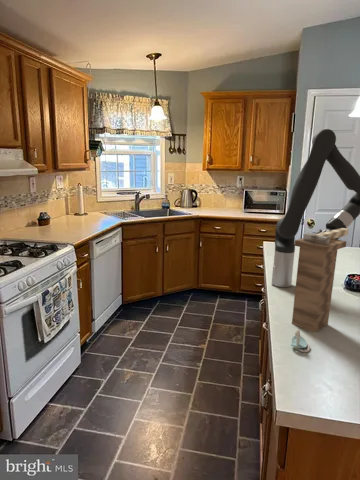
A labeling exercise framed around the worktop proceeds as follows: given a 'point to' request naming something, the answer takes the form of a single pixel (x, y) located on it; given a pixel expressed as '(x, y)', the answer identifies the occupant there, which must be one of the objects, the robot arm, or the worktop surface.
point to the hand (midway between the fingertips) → (314, 248)
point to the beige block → (325, 236)
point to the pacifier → (299, 342)
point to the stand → (314, 283)
